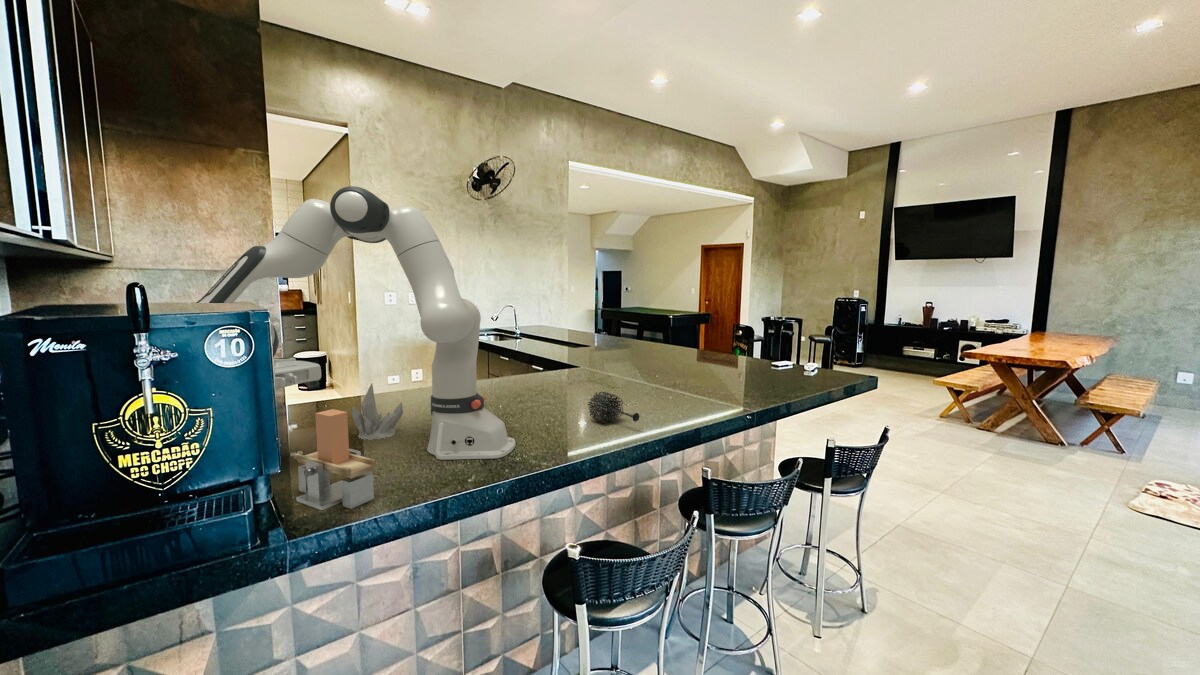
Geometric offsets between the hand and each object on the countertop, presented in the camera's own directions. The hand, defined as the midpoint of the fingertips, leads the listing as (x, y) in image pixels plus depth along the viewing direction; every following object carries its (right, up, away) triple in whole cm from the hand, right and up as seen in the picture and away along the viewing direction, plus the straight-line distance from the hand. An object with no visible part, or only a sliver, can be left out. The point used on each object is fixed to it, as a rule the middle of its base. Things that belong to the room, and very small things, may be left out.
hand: (290, 381), depth 100 cm
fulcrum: (+12, -23, -4) cm, 26 cm away
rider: (+12, -16, -5) cm, 20 cm away
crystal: (+2, -19, +35) cm, 40 cm away
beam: (+12, -16, -5) cm, 21 cm away
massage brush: (+69, -18, +48) cm, 86 cm away
